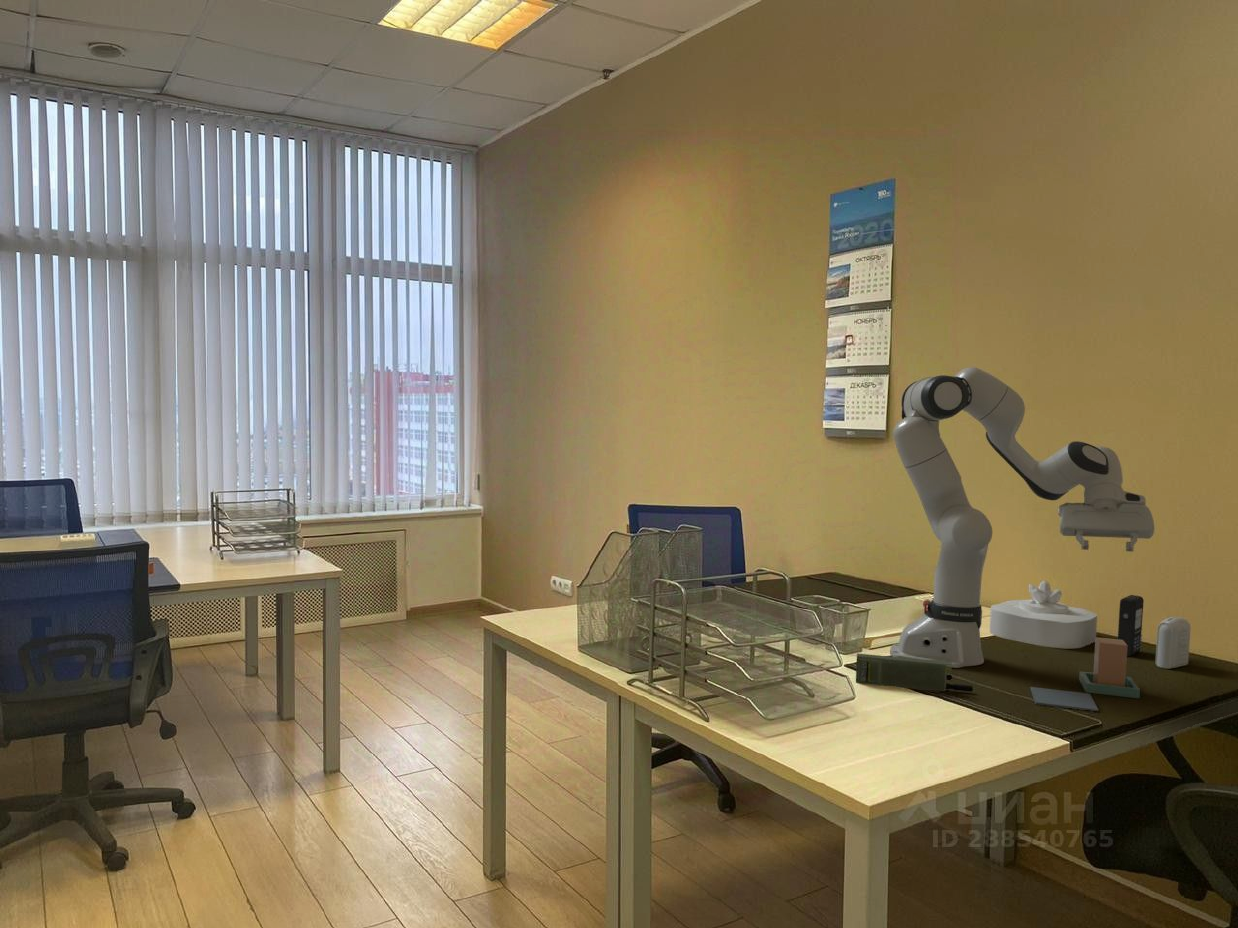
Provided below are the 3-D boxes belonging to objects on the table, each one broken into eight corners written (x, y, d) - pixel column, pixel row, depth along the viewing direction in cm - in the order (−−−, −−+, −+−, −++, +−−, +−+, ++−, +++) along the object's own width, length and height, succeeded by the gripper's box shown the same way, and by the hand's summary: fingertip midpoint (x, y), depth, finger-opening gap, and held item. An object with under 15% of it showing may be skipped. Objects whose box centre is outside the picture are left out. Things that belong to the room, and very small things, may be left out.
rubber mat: (1035, 704, 195) (1035, 702, 195) (1030, 688, 206) (1030, 686, 206) (1098, 712, 191) (1098, 709, 191) (1089, 695, 202) (1089, 693, 202)
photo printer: (1172, 661, 235) (1175, 613, 234) (1190, 665, 231) (1193, 617, 231) (1152, 666, 229) (1155, 617, 229) (1170, 670, 226) (1173, 621, 225)
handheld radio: (855, 680, 210) (971, 691, 203) (855, 684, 207) (973, 696, 200) (856, 652, 209) (973, 662, 203) (856, 656, 206) (974, 667, 200)
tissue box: (1070, 652, 241) (1073, 592, 240) (978, 633, 260) (981, 577, 259) (1105, 638, 258) (1108, 582, 257) (1017, 622, 277) (1020, 569, 276)
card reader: (1132, 658, 237) (1136, 600, 236) (1115, 654, 240) (1118, 598, 239) (1142, 652, 243) (1145, 596, 242) (1125, 649, 246) (1129, 593, 245)
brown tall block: (1096, 690, 207) (1099, 642, 206) (1092, 683, 212) (1095, 637, 211) (1124, 693, 205) (1127, 645, 204) (1119, 686, 210) (1122, 639, 209)
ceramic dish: (1086, 692, 205) (1086, 679, 205) (1079, 679, 215) (1079, 667, 215) (1139, 698, 202) (1140, 685, 201) (1129, 685, 212) (1130, 672, 211)
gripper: (1058, 494, 228) (1059, 539, 220) (1152, 496, 220) (1157, 543, 211) (1057, 510, 232) (1058, 554, 224) (1149, 512, 224) (1154, 558, 216)
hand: (1107, 549), depth 218 cm, fingers open, 8 cm apart
